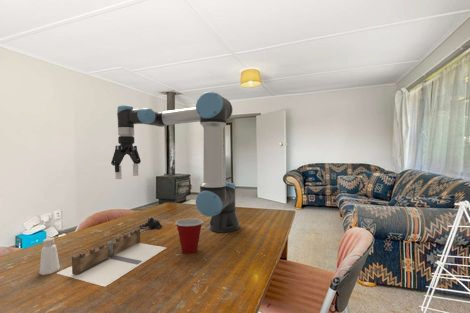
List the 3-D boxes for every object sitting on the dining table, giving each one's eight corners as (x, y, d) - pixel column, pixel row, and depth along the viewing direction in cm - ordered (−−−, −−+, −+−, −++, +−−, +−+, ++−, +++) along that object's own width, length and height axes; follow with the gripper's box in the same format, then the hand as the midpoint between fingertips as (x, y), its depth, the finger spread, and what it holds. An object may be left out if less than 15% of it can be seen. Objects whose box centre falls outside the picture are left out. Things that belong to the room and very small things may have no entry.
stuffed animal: (164, 221, 126) (161, 214, 116) (162, 239, 120) (159, 233, 110) (141, 222, 124) (137, 215, 114) (139, 241, 118) (134, 235, 108)
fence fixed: (75, 274, 72) (74, 257, 72) (72, 274, 73) (71, 256, 73) (108, 257, 83) (108, 242, 83) (105, 257, 84) (105, 242, 84)
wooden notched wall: (110, 257, 84) (109, 242, 83) (106, 256, 84) (105, 241, 84) (140, 242, 98) (140, 229, 97) (137, 241, 98) (136, 228, 98)
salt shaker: (64, 267, 79) (62, 235, 78) (52, 275, 73) (50, 241, 73) (48, 267, 78) (46, 236, 78) (34, 276, 73) (33, 242, 73)
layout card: (166, 248, 92) (166, 247, 92) (104, 288, 66) (104, 286, 66) (125, 241, 100) (125, 240, 100) (56, 274, 74) (56, 272, 74)
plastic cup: (208, 246, 93) (207, 217, 93) (195, 258, 83) (194, 226, 83) (185, 243, 97) (184, 215, 96) (170, 254, 86) (169, 223, 86)
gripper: (134, 137, 130) (135, 174, 131) (101, 134, 105) (103, 180, 106) (146, 137, 129) (147, 174, 129) (115, 134, 104) (117, 180, 105)
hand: (127, 177), depth 118 cm, fingers open, 13 cm apart
